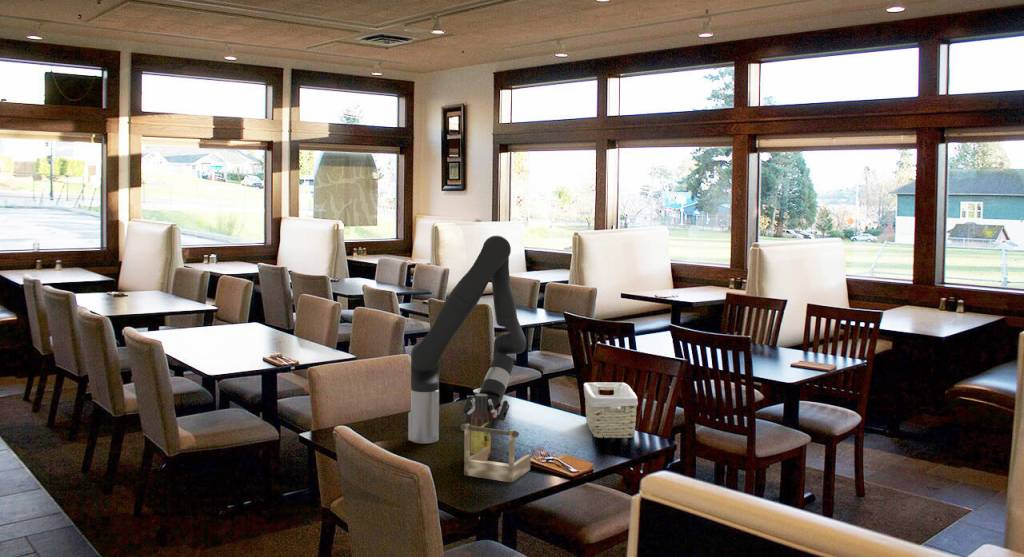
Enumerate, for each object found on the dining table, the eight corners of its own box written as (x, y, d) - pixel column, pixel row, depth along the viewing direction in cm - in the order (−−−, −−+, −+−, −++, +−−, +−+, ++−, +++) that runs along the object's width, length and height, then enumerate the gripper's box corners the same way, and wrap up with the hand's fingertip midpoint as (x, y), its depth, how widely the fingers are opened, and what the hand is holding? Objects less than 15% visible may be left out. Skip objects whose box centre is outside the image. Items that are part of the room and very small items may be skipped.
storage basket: (638, 439, 295) (639, 396, 293) (590, 439, 294) (591, 396, 293) (625, 421, 318) (627, 381, 317) (581, 421, 318) (582, 381, 316)
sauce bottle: (487, 461, 268) (488, 397, 266) (468, 459, 269) (468, 396, 267) (492, 455, 274) (493, 393, 272) (473, 453, 275) (473, 392, 274)
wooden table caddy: (458, 474, 254) (459, 424, 253) (479, 462, 267) (479, 414, 265) (516, 483, 247) (517, 431, 246) (534, 470, 259) (535, 421, 258)
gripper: (471, 375, 279) (454, 419, 270) (512, 380, 273) (496, 424, 264) (478, 388, 284) (461, 432, 275) (518, 393, 279) (503, 437, 269)
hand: (478, 428), depth 269 cm, fingers open, 7 cm apart
